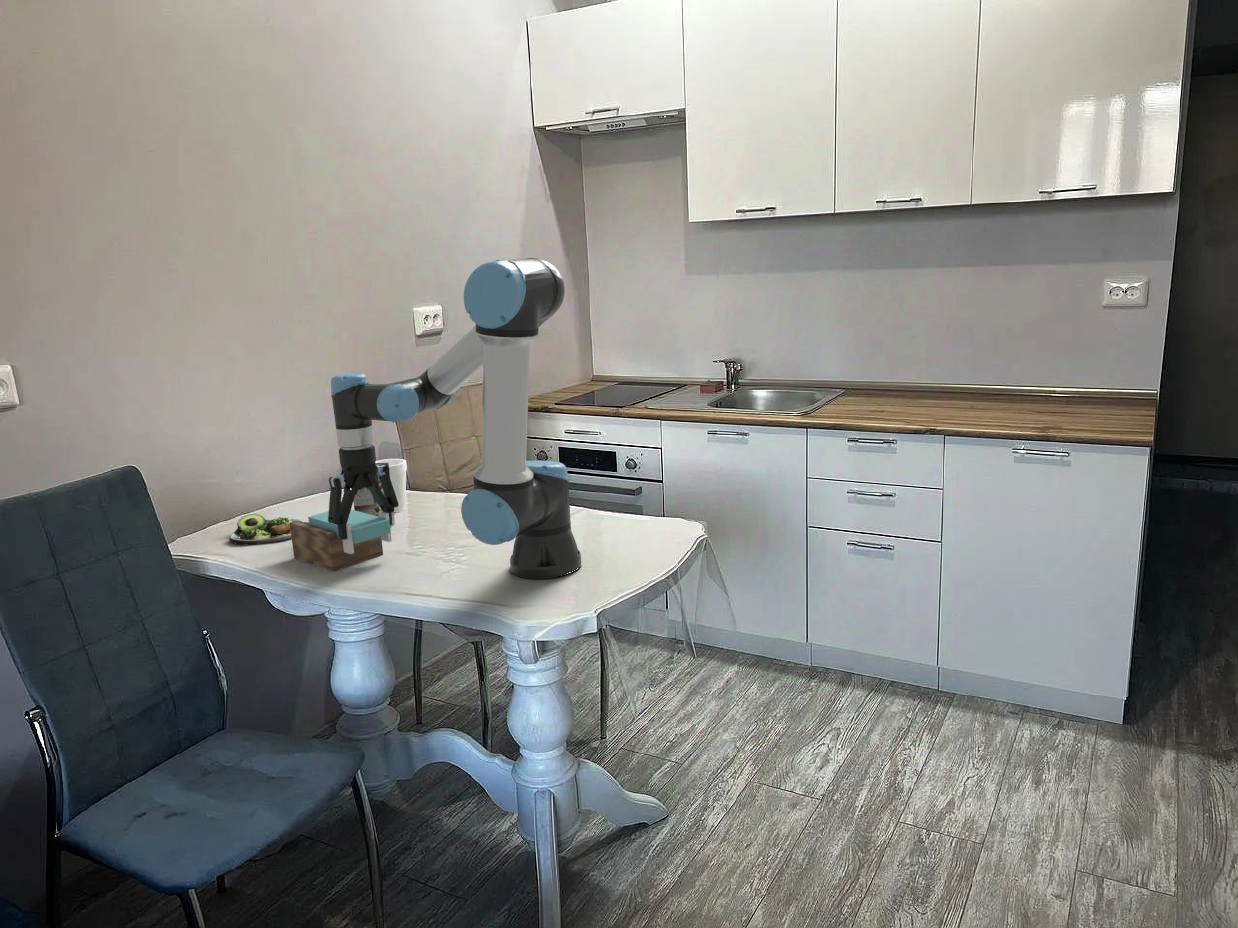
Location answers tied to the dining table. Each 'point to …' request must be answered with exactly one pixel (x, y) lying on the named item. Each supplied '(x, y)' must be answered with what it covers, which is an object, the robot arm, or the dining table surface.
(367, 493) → the coffee box
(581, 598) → the dining table surface
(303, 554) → the walnut box
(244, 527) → the salad plate
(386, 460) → the foam cup
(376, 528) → the lid
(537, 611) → the dining table surface
